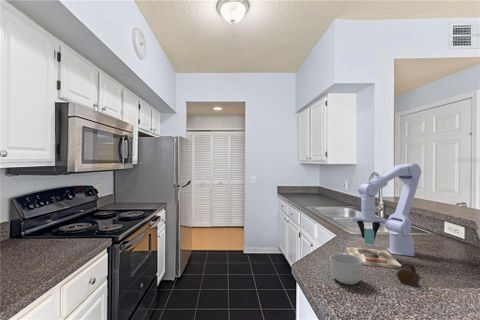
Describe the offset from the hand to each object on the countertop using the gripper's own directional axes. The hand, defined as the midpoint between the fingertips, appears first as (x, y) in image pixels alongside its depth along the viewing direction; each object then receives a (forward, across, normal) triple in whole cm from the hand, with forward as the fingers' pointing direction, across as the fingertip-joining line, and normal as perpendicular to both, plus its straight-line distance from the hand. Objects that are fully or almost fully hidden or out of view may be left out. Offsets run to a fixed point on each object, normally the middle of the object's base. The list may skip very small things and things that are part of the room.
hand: (368, 238), depth 113 cm
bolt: (+8, -8, +22) cm, 25 cm away
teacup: (+8, +14, +32) cm, 35 cm away
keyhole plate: (+8, 0, +4) cm, 9 cm away
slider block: (+2, 0, 0) cm, 2 cm away
